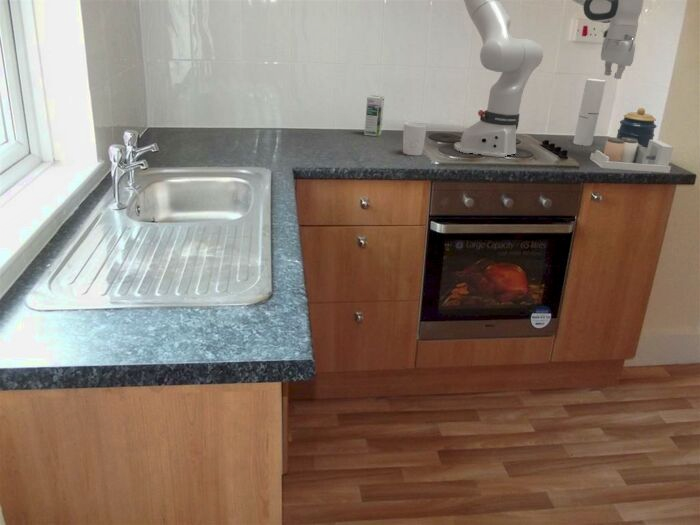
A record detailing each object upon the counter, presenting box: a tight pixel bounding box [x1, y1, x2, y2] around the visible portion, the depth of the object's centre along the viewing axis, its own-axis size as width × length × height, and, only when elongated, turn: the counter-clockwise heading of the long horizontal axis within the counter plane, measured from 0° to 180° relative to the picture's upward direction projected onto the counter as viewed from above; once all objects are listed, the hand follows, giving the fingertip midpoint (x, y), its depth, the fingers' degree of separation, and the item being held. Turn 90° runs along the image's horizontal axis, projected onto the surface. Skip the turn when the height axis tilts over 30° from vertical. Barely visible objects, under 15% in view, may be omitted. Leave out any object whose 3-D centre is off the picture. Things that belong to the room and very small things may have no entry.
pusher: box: [633, 144, 656, 164], centre depth 222 cm, size 10×10×7 cm
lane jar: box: [621, 137, 638, 163], centre depth 224 cm, size 6×6×9 cm
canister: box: [616, 107, 658, 148], centre depth 241 cm, size 13×13×18 cm
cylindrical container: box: [572, 78, 607, 147], centre depth 252 cm, size 7×7×25 cm
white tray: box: [589, 139, 674, 174], centre depth 222 cm, size 23×13×9 cm, turn 89°
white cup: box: [402, 121, 428, 156], centre depth 218 cm, size 8×8×10 cm
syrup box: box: [363, 94, 385, 137], centre depth 242 cm, size 6×6×14 cm
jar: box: [603, 136, 625, 162], centre depth 222 cm, size 6×6×9 cm
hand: (612, 76), depth 220 cm, fingers open, 8 cm apart
